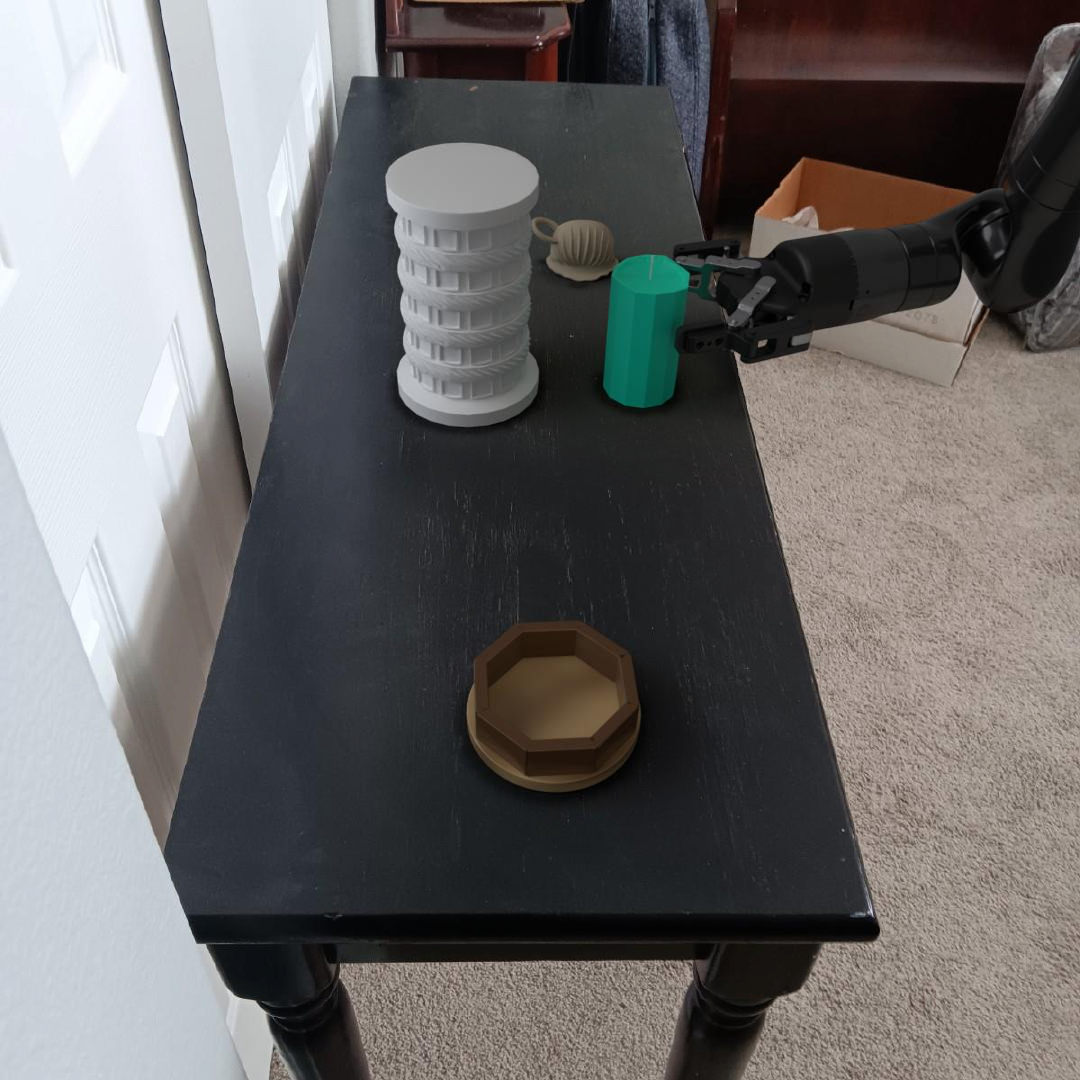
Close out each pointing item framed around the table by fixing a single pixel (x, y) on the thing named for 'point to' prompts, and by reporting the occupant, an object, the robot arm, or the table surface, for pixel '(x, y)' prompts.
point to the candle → (644, 329)
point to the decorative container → (465, 281)
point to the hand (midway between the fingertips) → (654, 311)
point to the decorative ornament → (579, 249)
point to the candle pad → (554, 706)
